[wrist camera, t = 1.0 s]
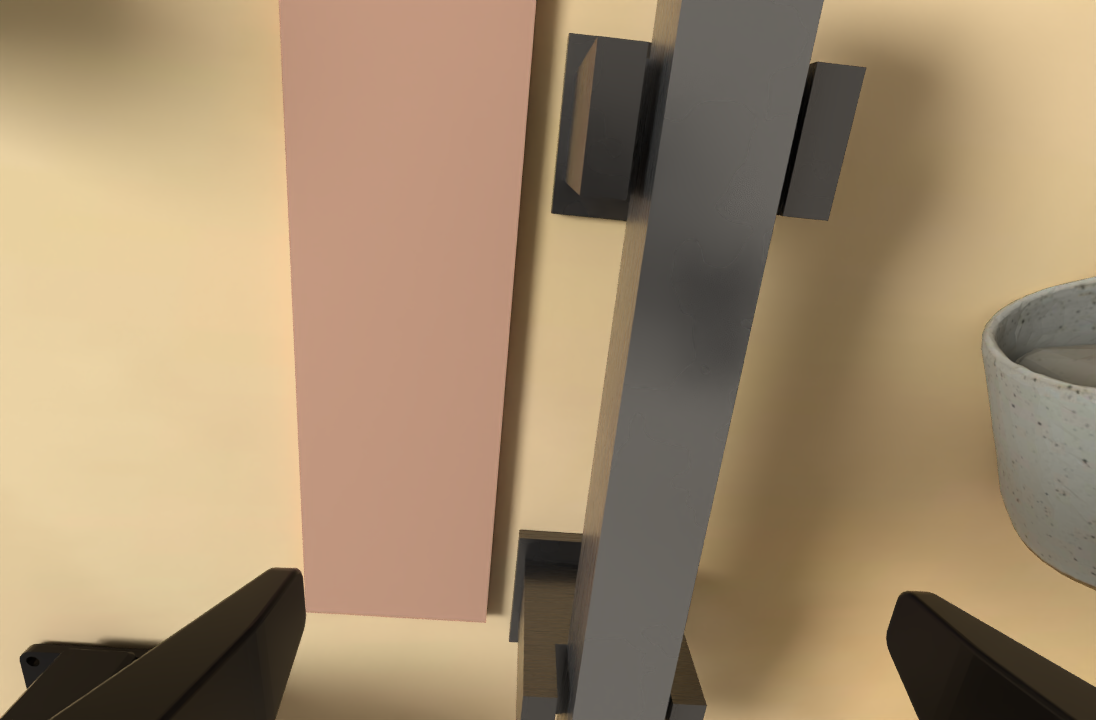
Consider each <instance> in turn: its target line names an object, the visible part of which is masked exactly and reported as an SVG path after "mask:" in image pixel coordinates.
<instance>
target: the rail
mask: <svg viewBox="0 0 1096 720" xmlns="http://www.w3.org/2000/svg"><path fill="white" fill-rule="evenodd" d="M823 1H824V0H658V2H657V9H656V16H655V24H654V31H653V38H652V45H651V52H650V59H649V66H648V73H647V81H646V88H645V95H644V102H643V109H642V116H641V123H640V130H639V137H638V145H637V152H636V159H635V166H634V173H633V180H632V187H631V194H630V202H629V209H628V216H627V223H626V230H625V237H624V244H623V251H622V259H621V266H620V273H619V280H618V287H617V294H616V301H615V308H614V316H613V323H612V330H611V337H610V344H609V351H608V358H607V365H606V373H605V380H604V387H603V394H602V401H601V408H600V415H599V422H598V430H597V437H596V444H595V451H594V458H593V465H592V472H591V479H590V487H589V494H588V501H587V508H586V515H585V522H584V529H583V536H582V544H581V551H580V558H579V565H578V572H577V579H576V586H575V593H574V601H573V608H572V615H571V622H570V629H569V636H568V643H567V650H566V657H565V665H564V672H563V679H562V686H561V693H560V700H559V707H558V714H557V720H665V715H666V711H667V706H668V702H669V697H670V693H671V688H672V684H673V679H674V675H675V670H676V666H677V661H678V657H679V652H680V648H681V643H682V639H683V634H684V629H685V625H686V620H687V616H688V611H689V607H690V602H691V598H692V593H693V589H694V584H695V580H696V575H697V571H698V566H699V562H700V557H701V553H702V548H703V544H704V539H705V535H706V530H707V526H708V521H709V516H710V512H711V507H712V503H713V498H714V494H715V489H716V485H717V480H718V476H719V471H720V467H721V462H722V458H723V453H724V449H725V444H726V440H727V435H728V431H729V426H730V422H731V417H732V413H733V408H734V403H735V399H736V394H737V390H738V385H739V381H740V376H741V372H742V367H743V363H744V358H745V354H746V349H747V345H748V340H749V336H750V331H751V327H752V322H753V318H754V313H755V309H756V304H757V299H758V295H759V290H760V286H761V281H762V277H763V272H764V268H765V263H766V259H767V254H768V250H769V245H770V241H771V236H772V232H773V227H774V223H775V218H776V214H777V209H778V205H779V200H780V196H781V191H782V186H783V182H784V177H785V173H786V168H787V164H788V159H789V155H790V150H791V146H792V141H793V137H794V132H795V128H796V123H797V119H798V114H799V110H800V105H801V101H802V96H803V92H804V87H805V83H806V78H807V73H808V69H809V64H810V60H811V55H812V51H813V46H814V42H815V37H816V33H817V28H818V24H819V19H820V15H821V10H822V6H823Z"/></svg>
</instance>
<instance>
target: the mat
mask: <svg viewBox="0 0 1096 720" xmlns="http://www.w3.org/2000/svg"><path fill="white" fill-rule="evenodd" d="M535 12H536V0H279V14H280V37H281V60H282V82H283V105H284V127H285V150H286V173H287V195H288V218H289V241H290V263H291V286H292V308H293V331H294V354H295V376H296V399H297V422H298V444H299V467H300V489H301V512H302V535H303V557H304V580H305V603H306V612H311V613H328V614H346V615H363V616H380V617H397V618H415V619H432V620H449V621H466V622H483V623H486V614H487V603H488V590H489V578H490V566H491V553H492V541H493V529H494V517H495V504H496V492H497V480H498V467H499V455H500V443H501V430H502V418H503V406H504V394H505V381H506V369H507V357H508V344H509V332H510V320H511V307H512V295H513V283H514V271H515V258H516V246H517V234H518V221H519V209H520V197H521V184H522V172H523V160H524V147H525V135H526V123H527V111H528V98H529V86H530V74H531V61H532V49H533V37H534V24H535Z"/></svg>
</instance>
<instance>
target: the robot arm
mask: <svg viewBox="0 0 1096 720" xmlns="http://www.w3.org/2000/svg"><path fill="white" fill-rule="evenodd" d="M305 621H306V608H305V596H304V584H303V576H302V573H301V571H300V570H299V569H297V568H271V569H269V570H267V571H265V572H264V573H262V574H261V575H259V576H258V577H257V578H255V579H254V580H252V581H251V582H249V583H248V584H246V585H245V586H243V587H242V588H241V589H239V590H238V591H236V592H235V593H233V594H232V595H230V596H229V597H227V598H226V599H224V600H223V601H222V602H220V603H219V604H217V605H216V606H214V607H213V608H211V609H210V610H208V611H207V612H205V613H204V614H203V615H201V616H200V617H198V618H197V619H195V620H194V621H192V622H191V623H189V624H188V625H186V626H185V627H184V628H182V629H181V630H179V631H178V632H176V633H175V634H173V635H172V636H170V637H169V638H167V639H166V640H165V641H163V642H162V643H160V644H159V645H157V646H156V647H154V648H153V649H151V650H144V649H125V648H107V647H88V646H69V645H51V644H33V645H31V646H30V647H29V648H28V649H27V650H26V651H25V652H24V653H23V654H22V655H21V656H20V664H21V668H22V672H23V675H24V679H25V683H26V687H27V690H26V691H25V692H24V693H23V694H22V695H21V696H20V697H19V698H18V700H17V701H16V702H15V703H14V704H13V705H12V706H11V707H10V708H9V709H8V710H7V711H6V712H5V713H4V715H3V716H2V717H1V718H0V720H275V719H276V715H277V712H278V709H279V706H280V703H281V700H282V697H283V694H284V690H285V687H286V684H287V681H288V678H289V675H290V672H291V669H292V665H293V662H294V659H295V656H296V653H297V650H298V647H299V644H300V640H301V637H302V634H303V631H304V627H305ZM886 640H887V646H888V650H889V652H890V655H891V657H892V659H893V662H894V664H895V666H896V668H897V671H898V673H899V675H900V678H901V680H902V682H903V684H904V687H905V689H906V691H907V694H908V696H909V698H910V700H911V703H912V705H913V707H914V710H915V712H916V714H917V716H918V719H919V720H1096V687H1094V686H1093V685H1091V684H1089V683H1087V682H1086V681H1084V680H1082V679H1080V678H1079V677H1077V676H1075V675H1074V674H1072V673H1070V672H1068V671H1067V670H1065V669H1063V668H1061V667H1060V666H1058V665H1056V664H1055V663H1053V662H1051V661H1049V660H1048V659H1046V658H1044V657H1042V656H1041V655H1039V654H1037V653H1036V652H1034V651H1032V650H1030V649H1029V648H1027V647H1025V646H1023V645H1022V644H1020V643H1018V642H1017V641H1015V640H1013V639H1011V638H1010V637H1008V636H1006V635H1004V634H1003V633H1001V632H999V631H998V630H996V629H994V628H992V627H991V626H989V625H987V624H986V623H984V622H982V621H980V620H979V619H977V618H975V617H973V616H972V615H970V614H968V613H967V612H965V611H963V610H961V609H960V608H958V607H956V606H954V605H953V604H951V603H949V602H948V601H946V600H944V599H942V598H941V597H939V596H937V595H935V594H933V593H930V592H921V591H905V592H903V593H901V594H900V595H899V597H898V599H897V602H896V605H895V608H894V611H893V614H892V617H891V620H890V624H889V627H888V630H887V636H886Z"/></svg>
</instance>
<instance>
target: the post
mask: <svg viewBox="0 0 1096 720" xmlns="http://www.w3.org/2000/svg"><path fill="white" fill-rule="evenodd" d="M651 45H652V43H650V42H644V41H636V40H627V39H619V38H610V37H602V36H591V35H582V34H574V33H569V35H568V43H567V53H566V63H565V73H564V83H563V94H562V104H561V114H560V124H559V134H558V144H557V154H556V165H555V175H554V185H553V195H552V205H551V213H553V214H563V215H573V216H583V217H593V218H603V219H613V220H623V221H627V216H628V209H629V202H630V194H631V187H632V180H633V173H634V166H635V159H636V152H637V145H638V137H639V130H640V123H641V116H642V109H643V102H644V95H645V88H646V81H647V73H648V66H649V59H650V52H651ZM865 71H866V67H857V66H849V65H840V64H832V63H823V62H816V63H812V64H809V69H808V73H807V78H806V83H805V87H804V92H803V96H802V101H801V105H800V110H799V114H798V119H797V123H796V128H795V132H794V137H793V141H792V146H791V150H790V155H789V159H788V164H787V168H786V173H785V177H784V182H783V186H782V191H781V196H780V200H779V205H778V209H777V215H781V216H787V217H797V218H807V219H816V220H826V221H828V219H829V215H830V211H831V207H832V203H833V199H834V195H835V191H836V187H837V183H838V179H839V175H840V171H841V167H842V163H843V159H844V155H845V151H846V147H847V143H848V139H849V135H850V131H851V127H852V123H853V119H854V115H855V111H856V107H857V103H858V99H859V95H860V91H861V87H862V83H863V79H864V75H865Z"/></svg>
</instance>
